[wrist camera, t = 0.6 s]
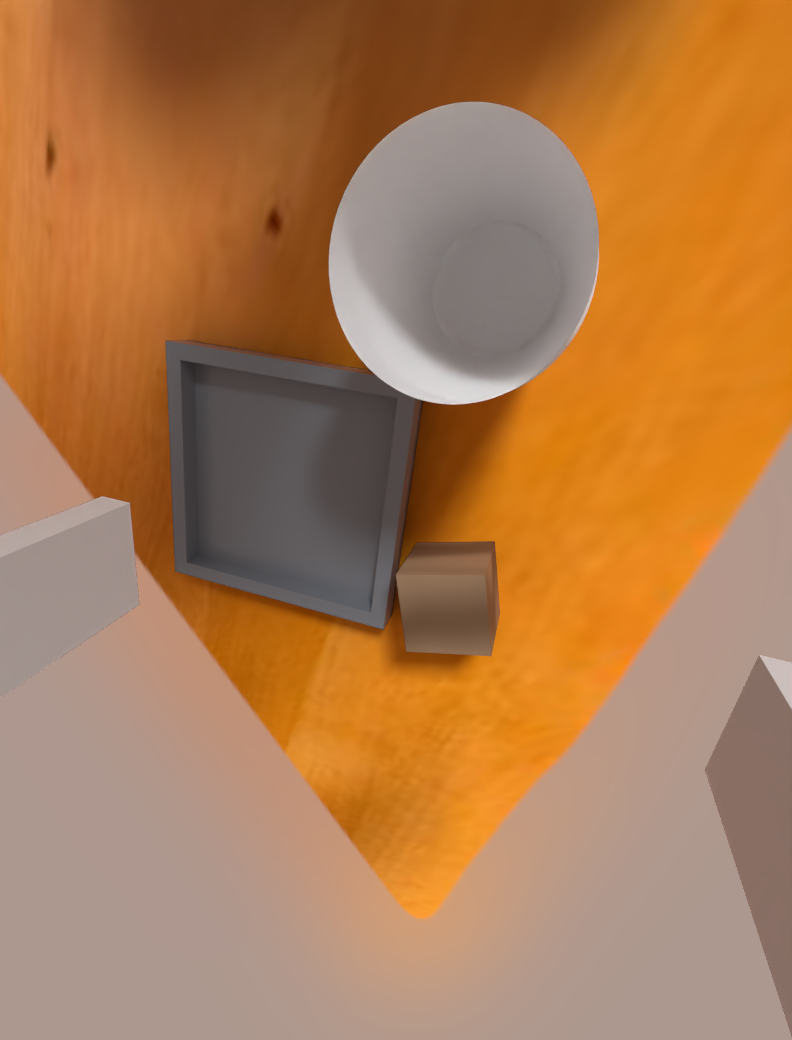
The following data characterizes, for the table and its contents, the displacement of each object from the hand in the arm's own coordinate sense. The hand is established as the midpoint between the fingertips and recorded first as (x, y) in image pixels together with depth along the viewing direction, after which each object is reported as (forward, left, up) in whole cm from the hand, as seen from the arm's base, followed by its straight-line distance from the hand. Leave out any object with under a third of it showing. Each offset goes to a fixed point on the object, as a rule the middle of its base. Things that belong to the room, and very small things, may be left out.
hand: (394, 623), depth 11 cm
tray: (+5, -13, -21) cm, 25 cm away
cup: (-8, -2, -21) cm, 23 cm away
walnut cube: (+9, -1, -21) cm, 23 cm away
